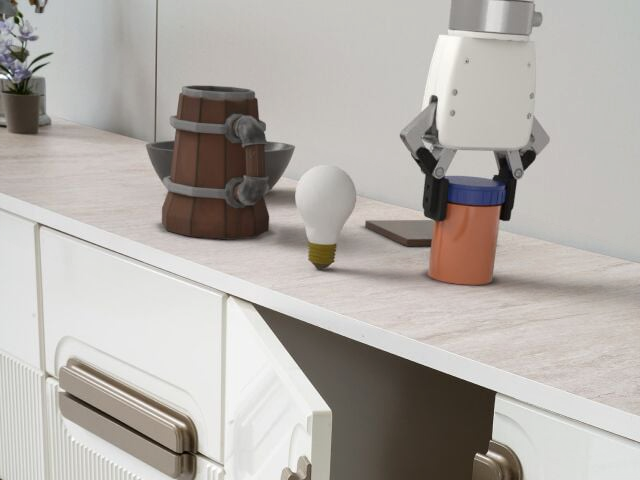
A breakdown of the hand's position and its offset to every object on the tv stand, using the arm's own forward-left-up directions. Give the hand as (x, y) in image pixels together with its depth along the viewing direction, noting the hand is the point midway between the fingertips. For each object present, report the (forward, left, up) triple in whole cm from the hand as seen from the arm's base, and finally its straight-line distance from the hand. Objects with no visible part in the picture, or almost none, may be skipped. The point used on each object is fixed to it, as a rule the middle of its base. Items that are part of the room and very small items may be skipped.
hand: (467, 217), depth 110 cm
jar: (0, 0, -6) cm, 6 cm away
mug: (+17, -23, -6) cm, 29 cm away
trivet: (-7, -20, -6) cm, 22 cm away
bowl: (+9, -48, -6) cm, 49 cm away
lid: (0, 0, +3) cm, 3 cm away
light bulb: (+13, -5, -6) cm, 15 cm away
